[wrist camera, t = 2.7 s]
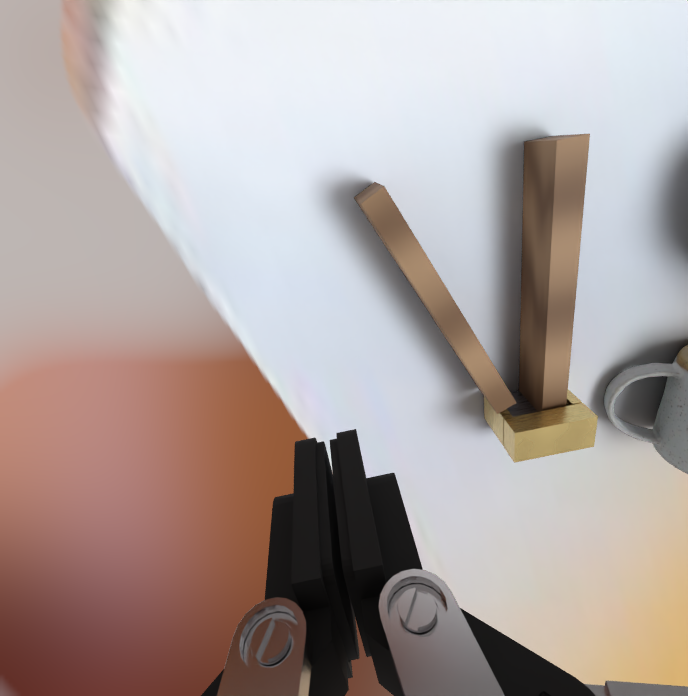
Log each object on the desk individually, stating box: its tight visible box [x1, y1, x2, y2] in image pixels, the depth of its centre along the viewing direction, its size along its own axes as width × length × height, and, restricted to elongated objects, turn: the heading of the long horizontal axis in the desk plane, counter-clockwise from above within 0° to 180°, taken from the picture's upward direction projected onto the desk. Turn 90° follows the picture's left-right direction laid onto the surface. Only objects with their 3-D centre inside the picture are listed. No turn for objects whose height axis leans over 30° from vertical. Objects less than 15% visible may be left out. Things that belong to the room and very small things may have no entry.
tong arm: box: [354, 182, 516, 414], centre depth 24 cm, size 16×1×3 cm, turn 35°
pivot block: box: [507, 391, 538, 417], centre depth 29 cm, size 3×3×3 cm
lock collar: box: [484, 390, 598, 462], centre depth 27 cm, size 2×5×5 cm, turn 100°
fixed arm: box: [519, 134, 590, 412], centre depth 25 cm, size 18×2×3 cm, turn 10°
